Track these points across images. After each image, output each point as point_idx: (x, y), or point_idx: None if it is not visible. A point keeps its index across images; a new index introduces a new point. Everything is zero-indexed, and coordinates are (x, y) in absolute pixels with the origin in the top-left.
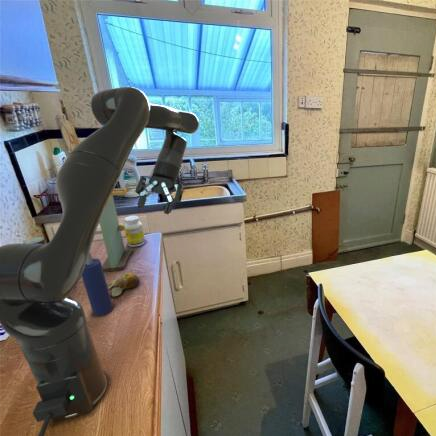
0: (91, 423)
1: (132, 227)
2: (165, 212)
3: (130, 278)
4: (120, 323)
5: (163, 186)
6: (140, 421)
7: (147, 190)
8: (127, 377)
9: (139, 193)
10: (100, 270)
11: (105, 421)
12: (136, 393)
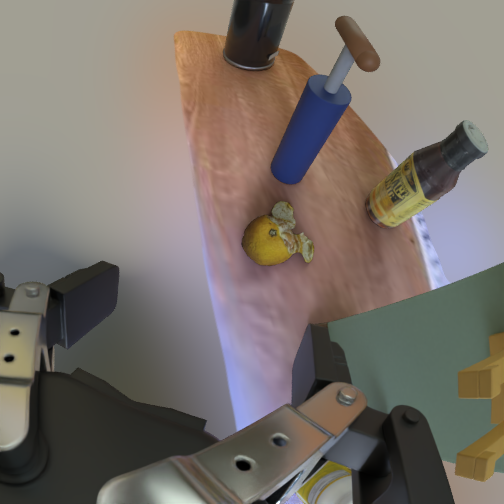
0: (225, 39)
1: (343, 482)
2: (108, 263)
3: (259, 220)
4: (241, 130)
5: (9, 381)
6: (183, 33)
7: (289, 407)
8: (203, 60)
9: (374, 418)
10: (301, 95)
11: (213, 38)
12: (190, 48)
